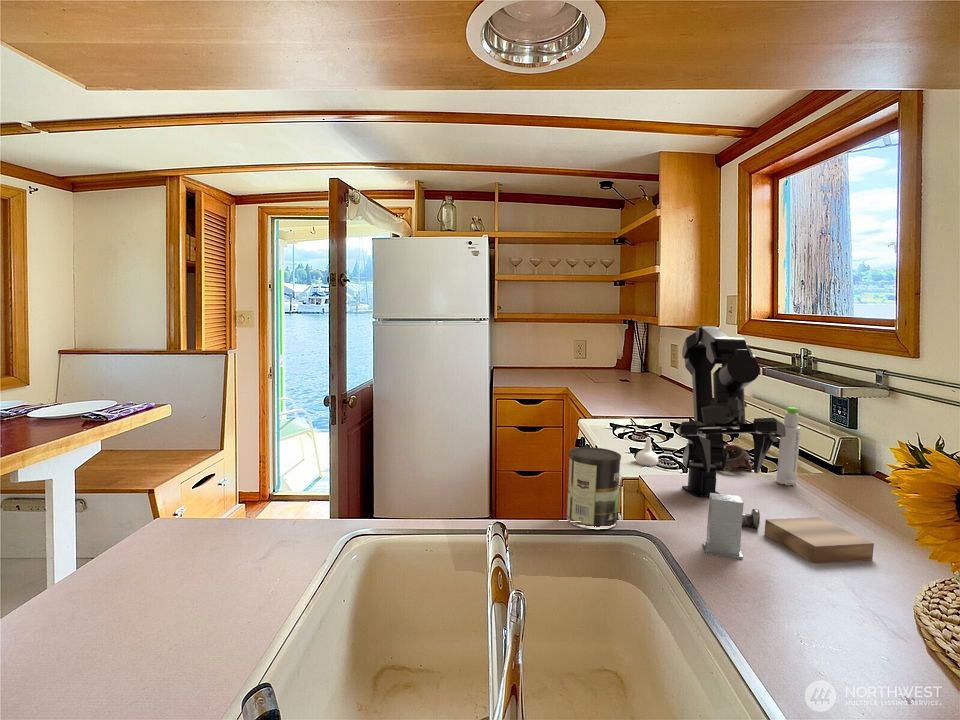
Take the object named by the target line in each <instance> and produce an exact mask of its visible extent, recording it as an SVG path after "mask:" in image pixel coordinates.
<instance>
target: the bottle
mask: <svg viewBox="0 0 960 720" xmlns="http://www.w3.org/2000/svg"><path fill="white" fill-rule="evenodd" d="M800 411H801V410H800V409H799V408H797V407H793V406H792V407H791V406H790V407H789V406H788V407H787V410H786V412H785V413H784V420H783V424H784V426H785V431H786V436H785V437H779V447H778V458H777V460H778V461H777V470H776V471H777V472H776V482H777V484H780V485H783V484H785V486H790V485H793V486H796V485H797V473H798V462H799V451H800V450H799V448H800V440H801V439H800V438H801V427H800V426H799V413H798V412H800ZM795 484H796V485H795Z"/></svg>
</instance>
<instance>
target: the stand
mask: <svg viewBox="0 0 960 720" xmlns="http://www.w3.org/2000/svg"><path fill="white" fill-rule="evenodd" d="M764 523H765V524H764V532H763V533H764V535H765V536H767V537H768V538H770V539H772V540H774V541H775V542H777V543H779V544H780V545H783V546H784V547H786V548H787V549H789V550H791V551H792V552H794V553H795V554H798V555H799V556H801V557H803V558H805V559H806V560H808V561H810V562H811V563H813V564H819V563H821V564H823V563H836V562H837V563H838V562H839V563H840V562H853V561H854V562H855V561H857V562H858V561H872V560H873V558H874V557H873V556H874V555H873V554H874V548H875V547H874V546H875V543H874V542H872V541H870V540H868V539H865V538H863V537H861V536H859V535H857V534H855V533H853V532H851V531H848V530H846V528H845V529H844V528H842V527H840V526H839V525H836V524H834V523H832V522H830V521H828V520H825V519H824V518H822V517H818V516H817V517H815V516H814V517H813V516H812V517H794V518H793V517H791V518H766V519H765V522H764Z"/></svg>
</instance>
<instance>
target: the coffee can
mask: <svg viewBox="0 0 960 720" xmlns="http://www.w3.org/2000/svg"><path fill="white" fill-rule="evenodd" d="M568 456H569V461H568V462H569V463H568V464H569V465H568V489H567V507H566V510H567V511H566V520H567V522H569V521H581V522H569V523H570V524H571V523H572V524H571V525H573V524H575V525H585V526H594V527H595V526H596V527H600V526H611V525H614V524H616V522H617V523H618V507H619V506H618V505H619V502H618V501H619V488H620V487H619V486H620V469H621V468H620V467H621V459H622V455H621V454H620V453H619V452H617V451H615V450H611V449H607V448H604V447H603V448H601V447H591V446H590V447H589V446H583V447H574V448H571V449H570V450H569V452H568ZM575 525H574V526H575Z"/></svg>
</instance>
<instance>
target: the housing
mask: <svg viewBox="0 0 960 720" xmlns="http://www.w3.org/2000/svg"><path fill="white" fill-rule="evenodd" d="M708 498H709V499H708V510H707V512H708V513H707V514H708V515H707V527H706V539H705V541H703V542H702V546H703V549H704V553H705V552H706V553H707V554H706V553H705V554H706V555H710V554H712V555H711V556H716V555H719V556H718V557H723V556H725V558H729V557H732V559H736V558H738V559H737V560H744V556H743V554H742V551H741V541H742V531H743V530H742V527H743V525H742V517H743V513H744V501H743V500H742V498H741V496H739V495H734V494H733V495H732V494H723V493H720V494H717V493H710V496H708Z"/></svg>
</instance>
